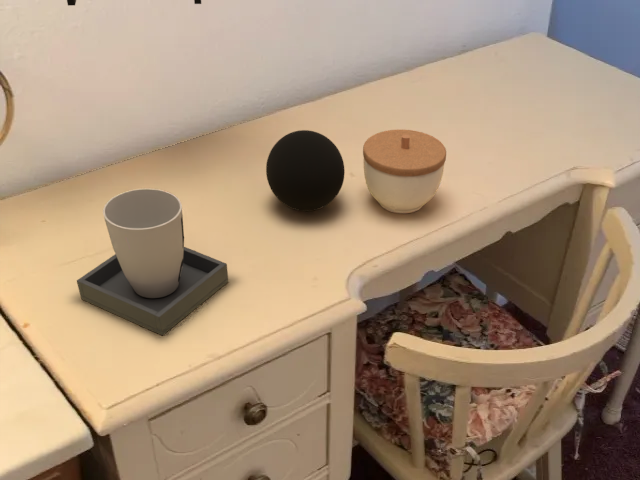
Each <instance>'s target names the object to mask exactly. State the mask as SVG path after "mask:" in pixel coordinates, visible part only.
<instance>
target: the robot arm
mask: <svg viewBox="0 0 640 480" xmlns="http://www.w3.org/2000/svg"><path fill="white" fill-rule="evenodd" d="M193 1H194V5H202V0H193ZM66 3H67V6H76V3H77V0H66Z"/></svg>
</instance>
